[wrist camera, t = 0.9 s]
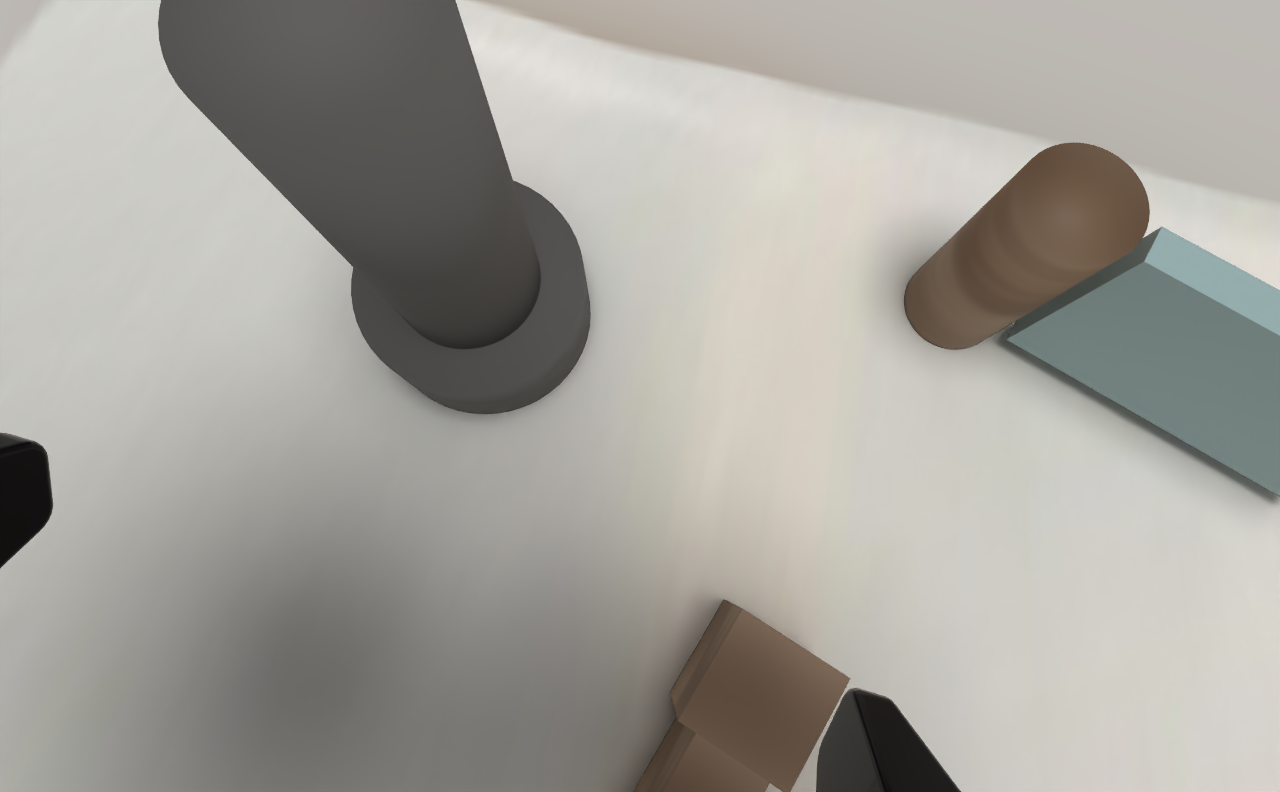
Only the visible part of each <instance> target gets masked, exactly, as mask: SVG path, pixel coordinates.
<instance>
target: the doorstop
mask: <svg viewBox="0 0 1280 792" xmlns="http://www.w3.org/2000/svg"><path fill="white" fill-rule="evenodd" d="M158 28H159V41H160V45H161V50H162V54H163V57H164V60H165V62H166V65H167V67H168V70H169V72H170V74H171V75H172V77H173V78H174V80H175V82H176V83H177V85H178V86H179V88H180V89H181V90H182V91H183V92H184V94H185V95H186V96H187V97H188V98H189V99H190V100H191V101H192V102H193V103H194V104H195V106H196V107H197V108H198V109H199V110H200V111H201V112H202V113H203V114H204V115H205V116H206V117H207V118H208V119H209V120H210V121H211V122H212V123H213V124H214V125H215V126H216V127H217V128H218V129H219V130H220V131H221V132H222V133H223V134H224V135H225V136H226V137H227V138H228V139H229V140H230V141H231V142H232V143H233V144H234V145H235V146H236V147H237V149H238V150H239V151H240V152H241V153H242V154H243V155H244V156H245V157H246V158H247V159H248V160H249V161H250V162H251V163H252V164H253V165H254V166H255V167H256V168H257V169H258V170H259V171H260V172H261V173H262V174H263V175H264V176H265V177H266V178H267V179H268V180H269V181H270V182H271V183H272V184H273V185H274V186H275V187H276V188H277V189H278V190H279V191H280V193H281V194H282V195H283V196H284V197H285V198H286V199H287V200H288V201H289V202H290V203H291V204H292V205H293V206H294V207H295V208H296V209H297V210H298V211H299V212H300V213H301V214H302V215H303V216H304V217H305V218H306V219H307V220H308V221H309V222H310V223H311V224H312V225H313V226H314V227H315V228H316V229H317V230H318V231H319V232H320V233H321V234H322V235H323V237H324V238H325V239H326V240H327V241H328V242H329V243H330V244H331V245H332V246H333V247H334V248H335V249H336V250H337V251H338V252H339V253H340V254H341V255H342V256H343V257H344V258H345V259H346V260H347V261H348V262H349V263H350V264H351V265H352V266H353V273H352V282H351V296H352V304H353V310H354V313H355V317H356V321H357V323H358V326H359V328H360V330H361V333H362V335H363V337H364V338H365V340H366V341H367V343H368V345H369V346H370V348H371V349H372V350H373V351H374V353H375V354H376V355H377V356H378V357H379V359H380V360H382V361H383V362H384V363H385V364H386V365H387V366H388V367H389V368H390V369H392V370H393V371H394V372H396V373H397V374H398V375H400V376H401V377H402V378H404V379H405V380H406V381H408V382H409V383H410V384H411V385H413V386H414V387H415V388H417V389H418V390H419V391H421V392H422V393H423V394H425V395H426V396H428V397H429V398H431V399H432V400H434V401H436V402H438V403H440V404H442V405H444V406H446V407H449V408H452V409H455V410H458V411H463V412H468V413H476V414H493V413H502V412H507V411H512V410H515V409H518V408H521V407H524V406H527V405H529V404H531V403H533V402H535V401H537V400H539V399H541V398H542V397H544V396H545V395H547V394H548V393H550V392H551V391H552V390H553V389H554V388H556V387H557V386H558V385H559V384H560V383H561V382H562V381H563V380H564V379H565V378H566V377H567V376H568V374H569V373H570V372H571V370H572V369H573V367H574V366H575V365H576V363H577V361H578V359H579V357H580V355H581V354H582V351H583V349H584V346H585V343H586V341H587V336H588V332H589V327H590V301H589V295H588V289H587V283H586V277H585V271H584V265H583V260H582V255H581V251H580V248H579V245H578V242H577V239H576V237H575V235H574V233H573V231H572V229H571V227H570V225H569V224H568V223H567V221H566V220H565V218H564V217H563V216H562V214H561V213H560V212H559V211H558V210H557V209H556V208H555V207H554V206H553V204H551V203H550V202H549V201H548V200H547V199H545V198H544V197H543V196H542V195H540V194H539V193H537V192H535V191H534V190H532V189H531V188H529V187H527V186H524V185H522V184H520V183H518V182H516V181H513V179H512V176H511V173H510V170H509V167H508V164H507V161H506V157H505V154H504V151H503V148H502V145H501V142H500V139H499V136H498V132H497V129H496V126H495V123H494V120H493V117H492V114H491V111H490V107H489V104H488V101H487V98H486V95H485V92H484V89H483V86H482V82H481V79H480V76H479V73H478V70H477V67H476V64H475V60H474V57H473V54H472V51H471V48H470V45H469V42H468V39H467V35H466V32H465V29H464V26H463V23H462V20H461V17H460V14H459V10H458V7H457V4H456V1H455V0H161V4H160V9H159V21H158Z"/></svg>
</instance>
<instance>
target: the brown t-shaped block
mask: <svg viewBox="0 0 1280 792" xmlns="http://www.w3.org/2000/svg"><path fill="white" fill-rule="evenodd" d="M1149 214H1150V212H1149V202H1148V197H1147V194H1146V191H1145V188H1144V186H1143V184H1142V182H1141V181H1140V179H1139V177H1138V176H1137V174H1136V173H1135V172H1134V171H1133V170H1132V168H1131V167H1130V166H1129V165H1128V164H1126V163H1125V162H1124V161H1123V160H1122V159H1120V158H1119V157H1118V156H1116V155H1114V154H1113V153H1111V152H1109V151H1107V150H1105V149H1103V148H1100V147H1097V146H1094V145H1090V144H1084V143H1064V144H1059V145H1055V146H1052V147H1050V148H1047V149H1045V150H1043V151H1042V152H1040V153H1038V154H1037V155H1036V156H1035V157H1033V158H1032V159H1031V160H1030V161H1029V162H1028V163H1027V164H1026V165H1025V166H1024V167H1023V168H1022V169H1021V170H1020V171H1019V172H1018V173H1017V174H1016V175H1015V176H1014V177H1013V178H1012V179H1011V180H1010V181H1009V182H1008V183H1007V184H1006V185H1005V186H1004V187H1003V188H1002V189H1001V190H1000V191H999V192H998V193H997V194H996V195H995V196H994V197H993V198H991V199H990V200H989V201H988V202H987V203H986V204H985V205H984V206H983V207H982V208H981V209H980V210H979V211H978V212H977V213H976V214H975V215H974V216H973V217H972V218H971V219H970V220H969V221H968V222H967V223H966V224H965V225H964V226H963V227H962V228H961V229H960V230H959V231H958V232H957V233H956V234H955V235H954V236H953V237H952V238H951V239H950V240H949V241H948V242H947V243H946V244H945V245H944V246H943V247H941V248H940V249H939V250H938V251H937V252H936V253H935V254H934V255H933V256H932V257H931V258H930V259H929V260H928V261H927V262H926V263H925V264H924V265H923V266H922V267H921V268H920V269H919V270H918V271H917V272H916V273H915V274H914V275H913V276H912V278H911V279H910V281H909V283H908V285H907V288H906V291H905V298H904V303H905V310H906V314H907V317H908V319H909V321H910V323H911V325H912V326H913V328H914V329H915V330H916V331H917V332H918V334H919V335H921V336H922V337H923V338H924V339H925V340H927V341H928V342H930V343H932V344H934V345H936V346H939V347H942V348H946V349H965V348H969V347H972V346H974V345H977V344H978V343H980V342H982V341H983V340H985V339H987V338H988V337H990V336H992V335H993V334H995V333H997V332H998V331H1000V330H1002V329H1003V328H1005V327H1007V326H1008V325H1010V324H1012V323H1013V322H1015V321H1017V320H1018V319H1020V318H1022V317H1023V316H1025V315H1027V314H1028V313H1030V312H1032V311H1033V310H1035V309H1037V308H1038V307H1040V306H1042V305H1043V304H1045V303H1047V302H1048V301H1050V300H1052V299H1053V298H1055V297H1057V296H1058V295H1060V294H1062V293H1063V292H1065V291H1067V290H1068V289H1070V288H1072V287H1073V286H1075V285H1077V284H1078V283H1080V282H1082V281H1083V280H1085V279H1087V278H1088V277H1090V276H1092V275H1093V274H1095V273H1097V272H1098V271H1100V270H1102V269H1103V268H1105V267H1107V266H1108V265H1110V264H1112V263H1113V262H1115V261H1117V260H1118V259H1120V258H1122V257H1123V256H1125V255H1127V254H1128V253H1130V252H1131V251H1132V250H1133V249H1134V248H1135V247H1136V246H1137V245H1138V244H1139V243H1140V241H1141V240H1142V238H1143V236H1144V234H1145V232H1146V230H1147V226H1148V222H1149ZM849 680H850V678H849V677H847V676H846V675H844V674H843V673H841V672H840V671H838V670H837V669H835V668H833V667H832V666H830V665H829V664H827V663H826V662H824V661H823V660H821V659H819V658H818V657H816V656H815V655H813V654H812V653H810V652H809V651H807V650H806V649H804V648H802V647H801V646H799V645H798V644H796V643H795V642H793V641H792V640H790V639H788V638H787V637H785V636H784V635H782V634H781V633H779V632H778V631H776V630H775V629H773V628H771V627H770V626H768V625H767V624H765V623H764V622H762V621H761V620H759V619H757V618H756V617H754V616H753V615H751V614H750V613H748V612H747V611H745V610H743V609H742V608H740V607H738V606H736V605H734V604H732V603H730V602H728V601H726V600H723V602H722V604H721V605H720V607H719V609H718V611H717V612H716V614H715V616H714V617H713V619H712V621H711V623H710V624H709V626H708V628H707V629H706V631H705V633H704V635H703V636H702V638H701V640H700V641H699V643H698V645H697V647H696V648H695V650H694V652H693V654H692V655H691V657H690V659H689V660H688V662H687V664H686V666H685V667H684V669H683V671H682V672H681V674H680V676H679V678H678V679H677V681H676V683H675V684H674V686H673V688H672V690H671V691H670V694H671V698H672V702H673V705H674V709H675V712H676V716H677V717H676V719H675V720H674V722H673V724H672V726H671V727H670V729H669V731H668V733H667V734H666V736H665V738H664V740H663V741H662V743H661V745H660V746H659V748H658V750H657V752H656V753H655V755H654V757H653V759H652V760H651V762H650V764H649V766H648V767H647V769H646V771H645V772H644V774H643V776H642V778H641V779H640V781H639V783H638V785H637V786H636V788H635V790H634V792H765V790H766V788H767V787H768V785H769V783H771V784H772V785H774V786H775V787H777V788H778V789H780V790H781V791H783V792H790V791H791V789H792V787H793V786H794V784H795V782H796V780H797V778H798V776H799V774H800V772H801V770H802V769H803V767H804V765H805V763H806V761H807V759H808V757H809V755H810V754H811V752H812V750H813V748H814V746H815V744H816V742H817V740H818V739H819V737H820V735H821V733H822V731H823V729H824V727H825V725H826V723H827V722H828V720H829V718H830V716H831V714H832V712H833V710H834V708H835V707H836V705H837V703H838V701H839V699H840V697H841V695H842V693H843V691H844V690H845V688H846V686H847V684H848V682H849Z"/></svg>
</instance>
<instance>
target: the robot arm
mask: <svg viewBox="0 0 1280 792" xmlns="http://www.w3.org/2000/svg"><path fill="white" fill-rule="evenodd" d="M52 509H53V498H52V489H51V480H50V471H49V462H48V455H47V452H46V450H45V449H44V448H43V446H42V445H40V444H39V443H37V442H35V441H31V440H28V439H25V438H21V437H18V436H15V435H11V434H7V433H0V568H1V567H2V566H3V565H4V564H5V563H6V562H7V561H9V560H10V559H11V558H12V557H13V556H14V555H15V554H16V553H17V552H18V551H19V550H20V549H21V548H22V547H23V546H24V545H26V544H27V543H28V542H29V541H30V540H31V539H32V538H33V537H34V536H35V535H36V534H37V533H38V532H39V531H40V530H41V529H42V528H43V527H44V526H45V525H46V523H47V522H48V520H49V518H50V516H51V514H52ZM816 792H961V791H960V790H959V789H958V787H957V786H956V785H955V783H954V782H953V781H952V779H951V778H950V777H949V775H948V774H947V773H946V771H945V770H944V769H943V767H942V766H941V765H940V763H939V762H938V761H937V759H936V758H935V757H934V755H933V754H932V753H931V751H930V750H929V749H928V747H927V746H926V745H925V743H924V742H923V741H922V739H921V738H920V737H919V735H918V734H917V733H916V731H915V730H914V729H913V727H912V726H911V725H910V723H909V722H908V721H907V719H906V718H905V717H904V715H903V714H902V713H901V711H900V710H899V709H898V707H897V706H896V705H895V704H894V703H893V701H892V700H890V699H889V698H887V697H885V696H882V695H879V694H875V693H872V692H869V691H865V690H862V689H859V688H853V689H850V690H848V692H847V693H846V694H845V695H844V697H843V699H842V701H841V703H840V705H839V707H838V709H837V711H836V713H835V715H834V717H833V719H832V722H831V724H830V726H829V728H828V730H827V732H826V734H825V736H824V738H823V741H822V743H821V746H820V750H819V755H818V762H817V783H816Z"/></svg>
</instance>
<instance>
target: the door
mask: <svg viewBox="0 0 1280 792" xmlns="http://www.w3.org/2000/svg"><path fill="white" fill-rule="evenodd" d="M1006 340H1008V341H1010V342H1011V343H1013V344H1015V345H1016V346H1018V347H1020V348H1022V349H1023V350H1025V351H1027V352H1029V353H1030V354H1032V355H1034V356H1036V357H1037V358H1039V359H1041V360H1043V361H1044V362H1046V363H1048V364H1050V365H1051V366H1053V367H1055V368H1057V369H1058V370H1060V371H1062V372H1064V373H1065V374H1067V375H1069V376H1071V377H1072V378H1074V379H1076V380H1078V381H1079V382H1081V383H1083V384H1085V385H1086V386H1088V387H1090V388H1092V389H1093V390H1095V391H1097V392H1099V393H1100V394H1102V395H1104V396H1106V397H1107V398H1109V399H1111V400H1112V401H1114V402H1116V403H1118V404H1119V405H1121V406H1123V407H1125V408H1126V409H1128V410H1130V411H1132V412H1133V413H1135V414H1137V415H1139V416H1140V417H1142V418H1144V419H1146V420H1147V421H1149V422H1151V423H1153V424H1154V425H1156V426H1158V427H1160V428H1161V429H1163V430H1165V431H1167V432H1168V433H1170V434H1172V435H1174V436H1175V437H1177V438H1179V439H1181V440H1182V441H1184V442H1186V443H1188V444H1189V445H1191V446H1193V447H1195V448H1196V449H1198V450H1200V451H1201V452H1203V453H1205V454H1207V455H1208V456H1210V457H1212V458H1214V459H1215V460H1217V461H1219V462H1221V463H1222V464H1224V465H1226V466H1228V467H1229V468H1231V469H1233V470H1235V471H1236V472H1238V473H1240V474H1242V475H1243V476H1245V477H1247V478H1249V479H1250V480H1252V481H1254V482H1256V483H1257V484H1259V485H1261V486H1263V487H1264V488H1266V489H1268V490H1270V491H1271V492H1273V493H1275V494H1277V495H1278V496H1280V290H1278V289H1276V288H1274V287H1273V286H1271V285H1269V284H1267V283H1265V282H1263V281H1261V280H1260V279H1258V278H1256V277H1254V276H1252V275H1250V274H1249V273H1247V272H1245V271H1243V270H1241V269H1239V268H1237V267H1236V266H1234V265H1232V264H1230V263H1228V262H1226V261H1224V260H1223V259H1221V258H1219V257H1217V256H1215V255H1213V254H1212V253H1210V252H1208V251H1206V250H1204V249H1202V248H1200V247H1199V246H1197V245H1195V244H1193V243H1191V242H1189V241H1188V240H1186V239H1184V238H1182V237H1180V236H1178V235H1176V234H1175V233H1173V232H1171V231H1169V230H1167V229H1165V228H1163V227H1161V228H1159V229H1157V230H1156V231H1154V232H1152V233H1151V234H1149V235H1148V236H1146V237H1144V238H1143V239H1142V240H1141V241H1140V243H1139V244H1138V245H1137V246H1136V247H1135V248H1134V249H1133V250H1132V251H1131V252H1130V253H1128V254H1127V255H1125V256H1123V257H1122V258H1120V259H1118V260H1117V261H1115V262H1113V263H1112V264H1110V265H1108V266H1107V267H1105V268H1103V269H1102V270H1100V271H1098V272H1097V273H1095V274H1093V275H1092V276H1090V277H1088V278H1087V279H1085V280H1083V281H1082V282H1080V283H1078V284H1077V285H1075V286H1073V287H1072V288H1070V289H1068V290H1067V291H1065V292H1063V293H1062V294H1060V295H1058V296H1057V297H1055V298H1053V299H1052V300H1050V301H1048V302H1047V303H1045V304H1043V305H1042V306H1040V307H1038V308H1037V309H1035V310H1033V311H1032V312H1030V313H1028V314H1027V315H1025V316H1023V317H1022V318H1020V319H1018V320H1017V321H1016V322H1015V324H1014V326H1013V328H1012V330H1011V332H1010V333H1009V335H1008V337H1007V339H1006Z"/></svg>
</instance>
